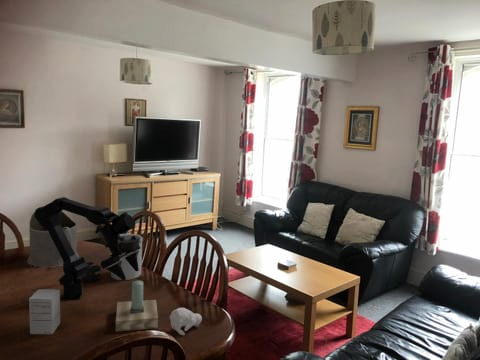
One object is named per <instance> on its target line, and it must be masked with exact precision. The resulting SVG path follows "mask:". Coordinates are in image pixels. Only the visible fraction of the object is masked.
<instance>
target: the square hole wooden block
mask: <svg viewBox="0 0 480 360" xmlns="http://www.w3.org/2000/svg"><path fill="white" fill-rule="evenodd" d="M131 304H132V300H129V301H118V302H117V306H116V314H115V315H116V317H115V332H124V331H125V332H127V331H137V330H149V329H150V330H151V329H158V327H159V323H158V322H159V317H158V308H157V299H149V300H148V299H145V300H144V299H143V313H131Z"/></svg>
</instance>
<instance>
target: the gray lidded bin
mask: <svg viewBox="0 0 480 360" xmlns="http://www.w3.org/2000/svg"><path fill="white" fill-rule="evenodd" d="M35 211H36V209H35V210H34V211H33V213H32V214H31V215H30V219H29V224H28V225H29V228H28V229H29V256H28V258H27V264H29V265H30V264H31V265H30V266H32V265H34V266H33V267H36V266H39V267H38V268H56V266H57V267H61V266H62V267H63V260H62V258H61V256H60V254H59V252H58V250H57V248H56V246H55V244H54V242H53V240H52V238H51V236H50V234H49V232H48V230H47V229H46V228H44V227H43V226H41V225H40V224H39V222H38V221H37V220H36V218H35V215H34V214H35ZM59 214H60V225H61V227H62V229H63V231H64V233H65V235H66V237H67V239H68V241H69V243H70V245H71V247H72V249H73V251H74V253H75V255H76V256H78V257H79V258H80V256H79V253H78V251H77V250H78V249H77V245H78V243H77V241H78V240H77V238H78V236H77V234H78V233H77V230H78V228H77V227H78V226H77V222H75V221H74V220H73V219H71V217H70V216H68V214H66V213H65V212H64V210H62V211H61V212H59Z"/></svg>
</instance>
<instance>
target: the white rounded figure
mask: <svg viewBox="0 0 480 360" xmlns="http://www.w3.org/2000/svg"><path fill="white" fill-rule="evenodd" d="M169 320H170V325H171V328H172V329H173V330H174V331H176V332H177V333H178V334H179V335H180V336H185V335H186V333H185V332H186V331H188V330H189V329H191V328H192V327H193V326H194V327H196V328H198V327H199V326H200V324H201V323H202V320H203V317H202V315H201V314H199V313H194V312H193V311H191V310H189V309H187V308H185V307H178V308H176V309H174V310H172V312H171V313H170V315H169ZM182 327H184V330H182Z"/></svg>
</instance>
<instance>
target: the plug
mask: <svg viewBox="0 0 480 360" xmlns="http://www.w3.org/2000/svg"><path fill="white" fill-rule="evenodd" d="M131 301H132V304H131V313H143V301H144V281H143V280H134V281H132V282H131Z"/></svg>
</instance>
